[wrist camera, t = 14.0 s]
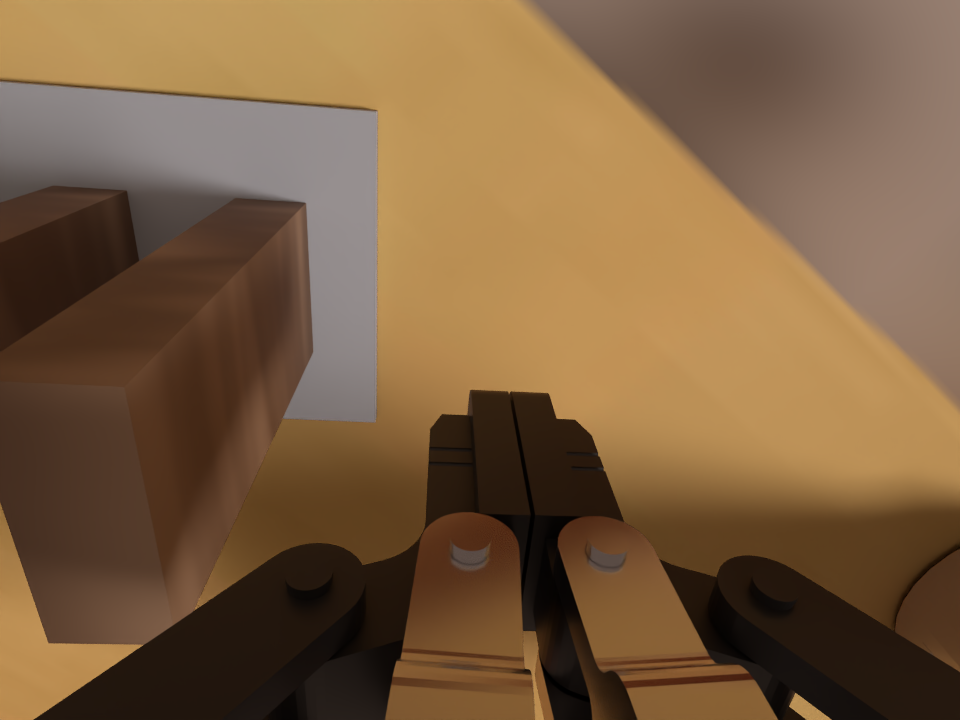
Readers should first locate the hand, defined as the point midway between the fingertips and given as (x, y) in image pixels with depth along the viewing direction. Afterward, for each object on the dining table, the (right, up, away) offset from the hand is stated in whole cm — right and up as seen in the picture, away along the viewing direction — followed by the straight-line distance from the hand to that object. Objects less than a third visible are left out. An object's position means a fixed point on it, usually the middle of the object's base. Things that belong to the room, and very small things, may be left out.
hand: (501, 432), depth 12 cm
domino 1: (-7, +4, +7) cm, 10 cm away
